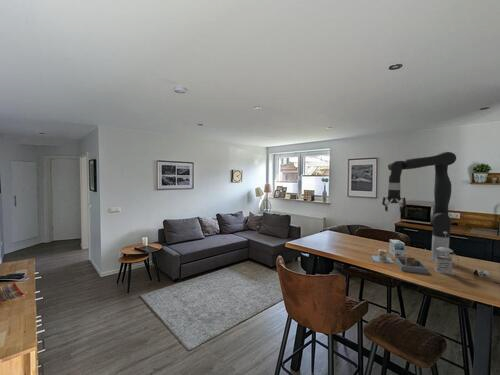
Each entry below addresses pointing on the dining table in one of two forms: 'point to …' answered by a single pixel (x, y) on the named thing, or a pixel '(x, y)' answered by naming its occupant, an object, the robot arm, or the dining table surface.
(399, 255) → the light bulb box
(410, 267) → the parts bin
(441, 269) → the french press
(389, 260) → the placing board
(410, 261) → the walnut block
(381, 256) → the beige box with label
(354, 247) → the dining table surface
